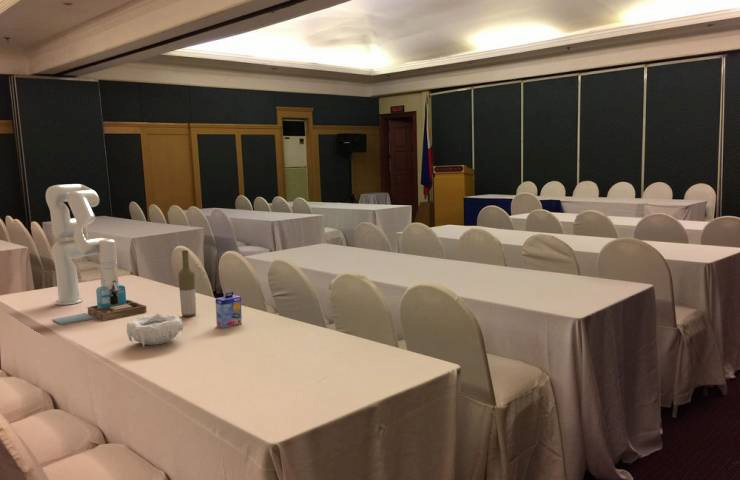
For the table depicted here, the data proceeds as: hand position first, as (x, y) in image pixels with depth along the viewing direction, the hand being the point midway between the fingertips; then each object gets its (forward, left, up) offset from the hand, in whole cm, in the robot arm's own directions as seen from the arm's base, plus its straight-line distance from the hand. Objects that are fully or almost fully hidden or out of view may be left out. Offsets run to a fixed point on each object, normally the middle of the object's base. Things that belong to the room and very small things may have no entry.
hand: (111, 302), depth 280 cm
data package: (0, 0, -4) cm, 4 cm away
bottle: (+37, +20, -4) cm, 42 cm away
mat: (+3, -19, -4) cm, 19 cm away
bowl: (+66, -9, -4) cm, 67 cm away
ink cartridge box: (+65, +24, -4) cm, 69 cm away
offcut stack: (+10, 0, -4) cm, 11 cm away
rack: (+5, 0, -4) cm, 6 cm away
